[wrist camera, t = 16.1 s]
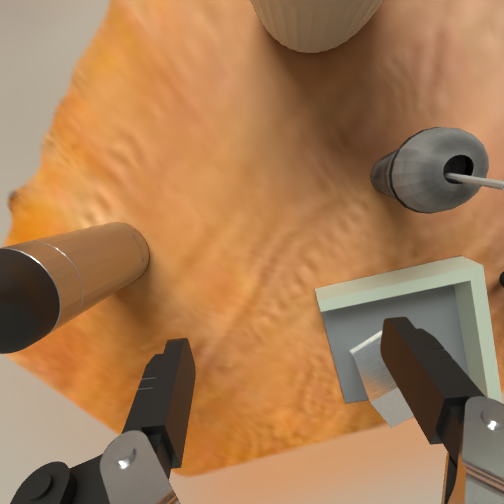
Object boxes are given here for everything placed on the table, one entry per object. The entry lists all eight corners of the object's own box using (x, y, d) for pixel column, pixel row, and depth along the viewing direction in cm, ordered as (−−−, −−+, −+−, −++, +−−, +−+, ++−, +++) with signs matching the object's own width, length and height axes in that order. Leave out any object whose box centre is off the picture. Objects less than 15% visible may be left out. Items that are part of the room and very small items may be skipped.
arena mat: (344, 401, 44) (345, 403, 44) (314, 288, 41) (315, 289, 40) (480, 381, 41) (482, 383, 40) (460, 255, 37) (462, 256, 37)
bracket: (368, 371, 42) (391, 427, 32) (351, 351, 42) (370, 402, 32) (417, 342, 40) (457, 393, 31) (400, 321, 40) (435, 366, 30)
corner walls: (344, 401, 44) (350, 425, 40) (314, 288, 41) (317, 301, 36) (480, 381, 41) (502, 404, 36) (460, 255, 37) (482, 265, 33)
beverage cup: (411, 134, 35) (563, 74, 15) (427, 191, 36) (585, 203, 17) (351, 158, 36) (421, 130, 17) (368, 212, 37) (451, 244, 18)
